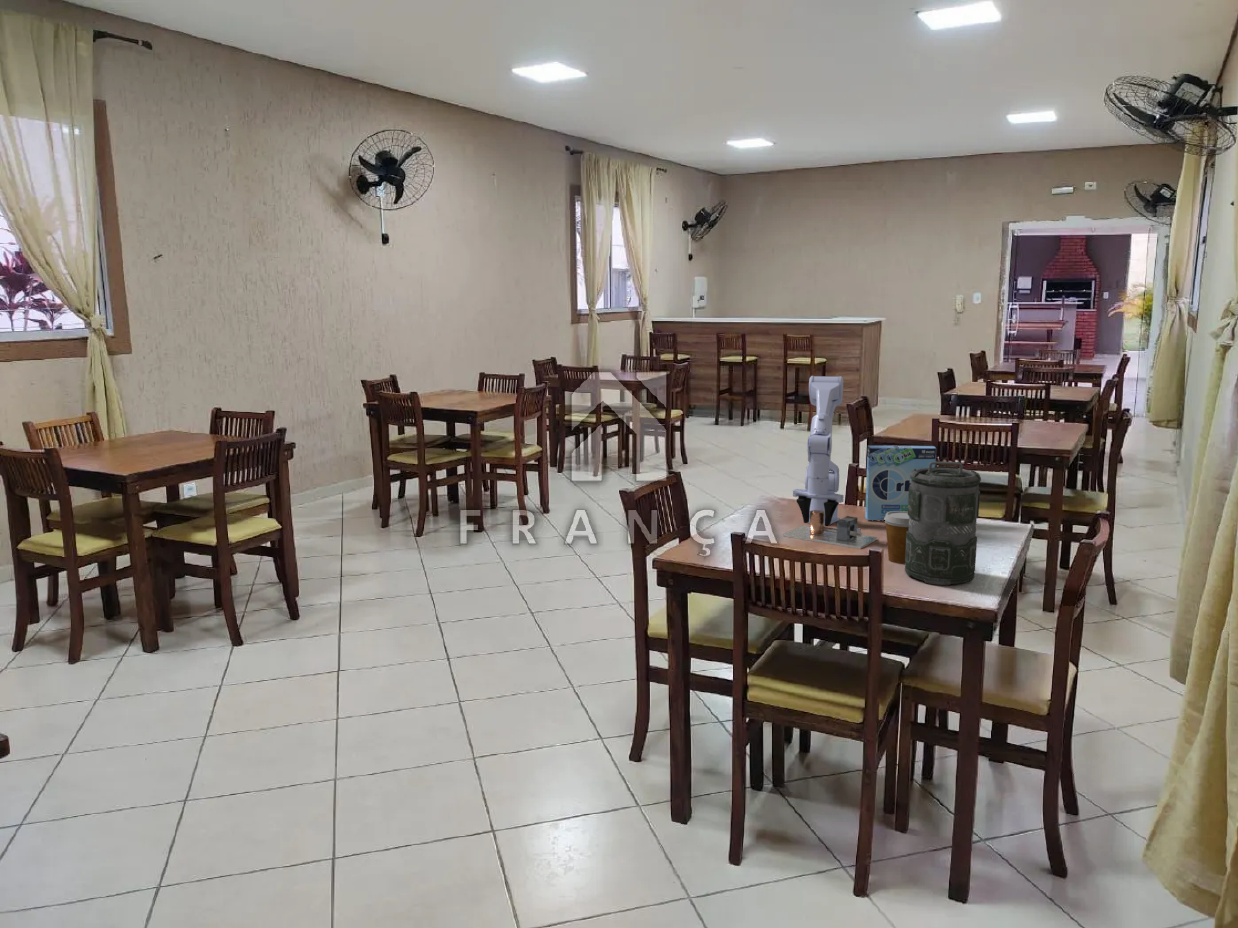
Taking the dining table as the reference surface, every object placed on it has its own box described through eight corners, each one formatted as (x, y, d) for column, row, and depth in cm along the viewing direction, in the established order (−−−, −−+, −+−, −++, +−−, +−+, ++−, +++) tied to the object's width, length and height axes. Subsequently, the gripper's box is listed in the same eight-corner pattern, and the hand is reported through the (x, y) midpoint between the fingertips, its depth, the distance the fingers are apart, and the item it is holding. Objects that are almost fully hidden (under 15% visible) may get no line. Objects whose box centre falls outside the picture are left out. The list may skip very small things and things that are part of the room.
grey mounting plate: (801, 527, 253) (802, 507, 252) (877, 539, 239) (878, 518, 238) (783, 536, 244) (783, 515, 242) (860, 548, 230) (861, 526, 229)
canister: (909, 584, 199) (915, 467, 194) (900, 565, 215) (905, 455, 210) (981, 588, 196) (989, 468, 192) (966, 568, 212) (973, 457, 207)
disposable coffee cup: (920, 556, 222) (923, 511, 220) (920, 567, 213) (923, 520, 211) (882, 553, 225) (884, 509, 223) (881, 563, 216) (883, 517, 214)
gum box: (929, 519, 262) (933, 445, 258) (933, 523, 257) (937, 448, 253) (864, 517, 265) (867, 444, 261) (866, 521, 260) (869, 447, 256)
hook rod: (807, 532, 243) (807, 512, 242) (813, 530, 246) (813, 509, 245) (857, 541, 234) (858, 519, 233) (863, 537, 237) (864, 516, 236)
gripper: (788, 476, 242) (787, 523, 244) (836, 482, 233) (835, 530, 236) (799, 472, 247) (798, 518, 250) (847, 478, 239) (845, 525, 241)
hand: (816, 524), depth 243 cm, fingers open, 6 cm apart
